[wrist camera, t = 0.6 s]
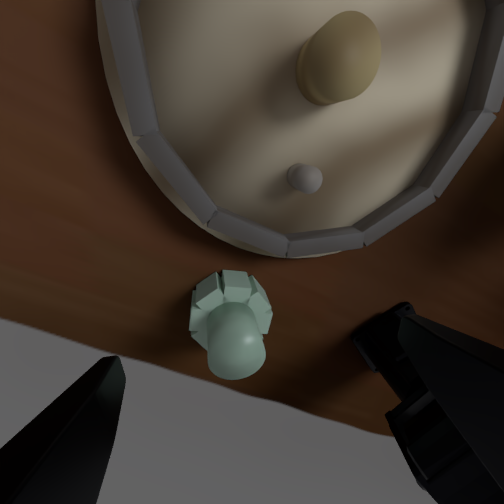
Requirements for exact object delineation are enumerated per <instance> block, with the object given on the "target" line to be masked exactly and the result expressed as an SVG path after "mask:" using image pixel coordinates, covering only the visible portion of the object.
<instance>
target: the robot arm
mask: <svg viewBox="0 0 504 504" xmlns="http://www.w3.org/2000/svg"><path fill="white" fill-rule="evenodd" d="M351 340H352V341H353V343H354V344H355V346H356V347H357V349H358V350H359V352H360V353H361V355H362V356H363V358H364V359H365V361H366V362H367V364H368V365H369V367H370V368H371V370H372V371H373V372H374V373H377V372H380V374H381V375H382V376H383V378H384V379H385V380H386V382H387V383H388V384H389V385H390V387H391V388H392V389H393V391H394V392H395V393H396V395H397V396H398V397H399V399H400V400H401V401H402V402H401V403H400V404H399V405H398V406H396V407H395V408H394V409H393V410H392V411H388V412H387V413H386V414H385V417H386V419H387V421H388V423H389V427H390V429H391V431H392V433H393V435H394V437H395V439H396V441H397V443H398V445H399V447H400V449H401V451H402V453H403V455H404V457H405V459H406V461H407V463H408V465H409V467H410V469H411V472H412V473H413V475H414V477H415V479H416V481H417V483H418V485H419V486H420V487H421V488H422V489H423V490H425V491H427V492H428V493H429V494H430V495H431V496H432V498H433V499H434V500H435V501H436V502H437V503H438V504H504V349H501V348H499V347H496V346H494V345H491V344H489V343H486V342H484V341H481V340H479V339H476V338H474V337H471V336H469V335H466V334H464V333H461V332H459V331H456V330H454V329H451V328H449V327H446V326H444V325H441V324H439V323H436V322H434V321H431V320H429V319H426V318H424V317H422V316H419V315H416V313H415V311H414V309H413V306H412V305H411V304H410V303H409V302H404V303H402V304H400V305H399V306H397V307H396V308H394V309H392V310H391V311H389V312H388V313H386V314H384V315H383V316H381V317H380V318H378V319H376V320H375V321H373V322H371V323H370V324H368V325H367V326H365V327H363V328H362V329H360V330H359V331H357V332H355V333H354V334H353V335H352V336H351ZM125 383H126V377H125V373H124V370H123V367H122V364H121V361H120V358H119V357H118V356H109V357H103V358H101V359H100V360H99V361H98V362H97V363H95V364H94V365H93V366H92V367H91V368H90V369H89V370H88V371H87V372H85V374H83V375H82V376H81V377H80V378H79V379H78V380H77V381H75V382H74V383H73V384H72V385H71V386H70V387H69V388H68V389H66V390H65V391H64V392H63V393H62V394H61V395H60V396H59V397H57V398H56V399H55V400H54V401H53V402H52V403H51V404H50V405H49V406H47V407H46V408H45V409H44V410H43V411H42V412H41V413H40V414H38V415H37V416H36V417H35V418H34V419H33V420H32V421H31V422H30V423H29V424H27V425H26V426H25V427H24V428H23V429H22V430H21V431H19V432H18V433H17V434H16V435H15V436H14V437H13V438H12V439H11V440H9V441H8V442H7V443H6V444H5V445H4V446H3V447H2V448H1V449H0V504H96V502H97V499H98V496H99V492H100V489H101V485H102V482H103V479H104V475H105V472H106V469H107V465H108V462H109V458H110V455H111V451H112V448H113V444H114V440H115V436H116V431H117V426H118V421H119V415H120V410H121V405H122V400H123V394H124V389H125Z"/></svg>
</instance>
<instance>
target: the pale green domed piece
mask: <svg viewBox="0 0 504 504" xmlns="http://www.w3.org/2000/svg"><path fill="white" fill-rule="evenodd" d="M272 315H273V313H272V311H271V305H270V303H269V301H268V298H267V296H266V293H265V291H264V289H263V288H262V287H261V285H260V284H259V283H258V282H257V280H256V279H255V278H254V277H253V275H251V276H249V277H248V275H247V272H242V271H231V270H223V271H222V276H221V277H220V276H219V274H218V273H217V272H214V273H213V274H211V275H210V276H209V277H207V278H206V279H204V280H203V281H201V282H200V283H198V284H197V285H196V290H193V294H192V301H191V309H190V323H189V331H191V337H192V338H193V339H195V340H196V341H197V342H198V343H199V344H200V345H201V346H202V347H203V348H205V349H206V350H208V365H209V368H210V370H211V371H212V372H213V373H214V374H215V375H216V376H218V377H220V378H223V379H228V380H237V379H242V378H245V377H248V376H250V375H252V374H254V373H255V372H256V371H257V370H259V368H260V367H261V366H262V365H263V363H264V361H265V357H266V352H265V348H264V345H263V341H262V339H263V336H262V334H267V333H268V329H269V326H270V322H271V318H272Z"/></svg>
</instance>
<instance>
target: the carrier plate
mask: <svg viewBox="0 0 504 504" xmlns="http://www.w3.org/2000/svg"><path fill="white" fill-rule="evenodd" d="M95 2H96V14H97V27H98V39H99V45H100V50H101V56H102V61H103V66H104V71H105V76H106V80H107V84H108V87H109V90H110V93H111V96H112V100H113V103H114V106H115V109H116V113H117V115H118V117H119V119H120V122H121V124H122V126H123V129H124V131H125V133H126V135H127V138H128V140H129V142H130V144H131V146H132V148H133V149H134V151H135V153H136V154H137V156H138V158H139V160H140V161H141V163H142V165H143V166H144V168H145V170H146V171H147V172H148V174H149V175H150V176H151V178H152V179H153V180H154V182H155V183H156V184H157V186H158V187H159V188H160V190H161V191H162V192H163V193H164V194H165V196H166V197H167V198H168V199H169V200H170V201H171V202H172V203H173V204H174V205H175V206H176V207H177V208H178V209H179V210H180V211H181V212H182V213H183V214H185V215H186V216H187V217H188V218H189V219H191V220H192V221H193V222H194V223H196V224H197V225H198V226H199V227H201V228H202V229H204V230H206V231H207V232H209V233H210V234H212V235H214V236H215V237H217V238H218V239H221V240H223V241H225V242H227V243H229V244H231V245H233V246H236V247H238V248H241V249H244V250H247V251H250V252H254V253H257V254H262V255H267V256H273V257H280V258H308V257H319V256H324V255H329V254H334V253H338V252H341V251H344V250H351V249H359V248H363V245H365V246H368V245H369V244H371V243H373V242H374V241H376V240H377V239H379V238H380V237H382V236H383V235H385V234H386V233H388V232H389V231H391V230H392V229H394V228H395V227H397V226H398V225H400V224H401V223H403V222H404V221H406V220H407V219H409V218H411V217H412V216H414V215H415V214H417V213H418V212H420V211H421V210H423V209H424V208H426V207H427V206H429V205H430V204H432V203H433V202H435V197H438V198H439V197H440V196H441V194H442V193H443V191H444V190H445V189H446V187H447V186H448V184H449V183H450V182H451V180H452V179H453V177H454V176H455V174H456V173H457V172H458V170H459V169H460V167H461V166H462V165H463V163H464V162H465V160H466V159H467V158H468V156H469V155H470V153H471V152H472V151H473V149H474V148H475V146H476V145H477V144H478V142H479V141H480V139H481V138H482V137H483V135H484V134H485V132H486V131H487V130H488V128H489V127H490V125H491V124H492V123H493V121H494V120H495V118H496V116H495V115H494V114H493V113H492V112H499V110H500V107H501V104H502V100H503V97H504V0H95Z"/></svg>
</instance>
